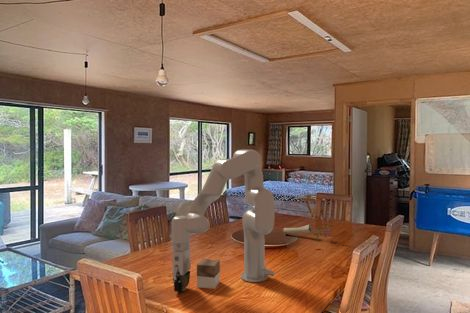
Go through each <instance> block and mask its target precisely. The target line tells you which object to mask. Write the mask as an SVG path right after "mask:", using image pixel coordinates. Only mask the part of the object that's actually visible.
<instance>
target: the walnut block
mask: <svg viewBox="0 0 470 313" xmlns="http://www.w3.org/2000/svg"><path fill="white" fill-rule="evenodd" d="M220 261H221V260H220V259H209V258H202V259H201V260H200V261H198V263H197V264H196V277H197V276H201V277H212V278H215V276H216V275H217V274H218V273H219V272H221V271H220V270H221V269H220V268H221V266H220V265H221V264H220V263H221V262H220Z"/></svg>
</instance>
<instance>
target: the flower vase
mask: <svg viewBox="0 0 470 313" xmlns="http://www.w3.org/2000/svg"><path fill="white" fill-rule="evenodd" d="M319 225H320V226H319V227H317V229H318V230H317V229H315V233H314V234H313V236H315V237H316V240H317V242H319V237H320V235H319V233H323V235H322V236H323V238H327V237H328V235H329V233H332V231H333V227H331V226H330V223H328V224H327V225H326V228H325V229H326V230H324V226H323V227H321V224H319ZM320 228H321V229H320ZM327 228H328V229H327ZM284 232H287V233H292V234H299V233H302V234H303V233H304V234H312V232H313V228H312V226H311V225H310V224H306V225H304V226H303V225H302V226H300V227H284V228H283V233H284ZM292 234H291V235H292Z"/></svg>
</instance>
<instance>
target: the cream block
mask: <svg viewBox="0 0 470 313" xmlns="http://www.w3.org/2000/svg"><path fill="white" fill-rule="evenodd" d="M220 272H221V271H220ZM220 272H219V273H218V274H217V275H216V276H215V278H212V277H201V276H197V275H196V287H197V288H200V289H201V288H203V289H213V290H215V289H216V288H217V287H218V285H219V283H220V281H221V280H220V279H221V278H220V277H221V276H220Z"/></svg>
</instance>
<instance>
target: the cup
mask: <svg viewBox="0 0 470 313" xmlns="http://www.w3.org/2000/svg"><path fill="white" fill-rule="evenodd" d="M177 274H180V273H177ZM172 275H173V272H172ZM184 276H185V277H184ZM190 276H191V270H189V271H188V272H187V273H186V274H185V275H183V276H181V277H182V278H181V282H182V291H181V292H180V293H184V292H185V291H186V290H187V287H188V285H190V280H191V279H190ZM177 277H178V278H179V277H180V276H177ZM172 281H173V283H174V279H173V278H172Z"/></svg>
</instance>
